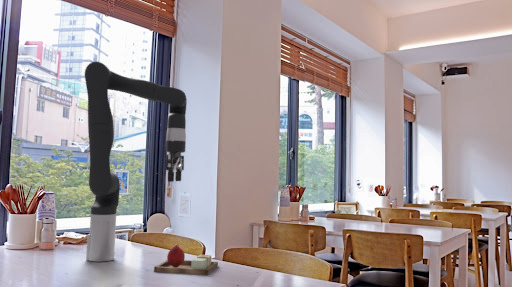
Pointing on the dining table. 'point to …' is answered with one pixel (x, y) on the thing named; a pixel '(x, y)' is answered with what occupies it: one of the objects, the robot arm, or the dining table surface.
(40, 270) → the dining table surface
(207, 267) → the oak block
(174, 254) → the onion
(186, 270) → the tray
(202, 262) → the sage block
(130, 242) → the dining table surface
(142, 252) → the dining table surface
